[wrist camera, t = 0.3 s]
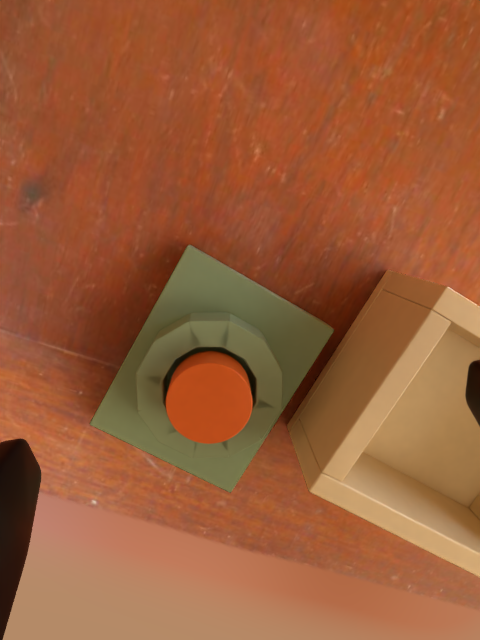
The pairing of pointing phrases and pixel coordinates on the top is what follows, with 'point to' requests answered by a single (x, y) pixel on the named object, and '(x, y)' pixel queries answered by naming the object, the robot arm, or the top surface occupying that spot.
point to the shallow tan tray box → (400, 419)
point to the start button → (209, 397)
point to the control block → (211, 335)
